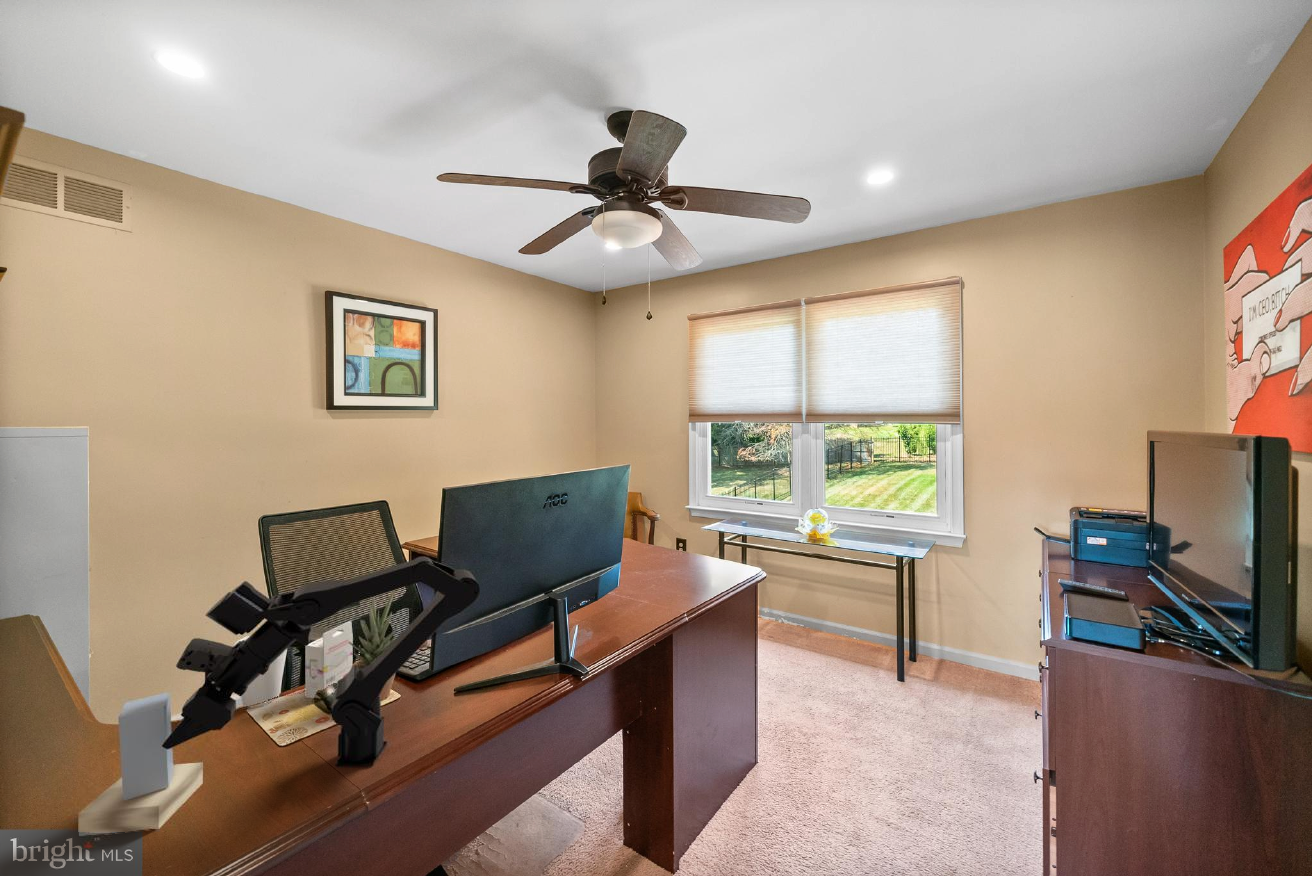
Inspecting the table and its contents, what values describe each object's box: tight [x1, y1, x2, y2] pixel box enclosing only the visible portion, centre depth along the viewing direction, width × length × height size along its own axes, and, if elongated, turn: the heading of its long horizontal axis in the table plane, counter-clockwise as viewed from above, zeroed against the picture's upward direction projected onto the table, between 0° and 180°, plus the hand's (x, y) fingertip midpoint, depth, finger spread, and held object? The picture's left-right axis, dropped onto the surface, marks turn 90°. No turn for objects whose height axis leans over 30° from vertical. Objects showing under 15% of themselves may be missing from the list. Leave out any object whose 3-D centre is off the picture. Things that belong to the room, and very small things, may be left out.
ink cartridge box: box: [304, 620, 354, 699], centre depth 118 cm, size 9×5×15 cm, turn 168°
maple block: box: [77, 761, 204, 833], centre depth 82 cm, size 10×10×4 cm
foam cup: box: [233, 635, 288, 708], centre depth 113 cm, size 10×9×13 cm
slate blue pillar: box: [118, 691, 174, 801], centre depth 82 cm, size 5×5×13 cm
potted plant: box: [349, 590, 399, 701], centre depth 116 cm, size 10×10×25 cm
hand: (174, 731), depth 83 cm, fingers open, 9 cm apart
